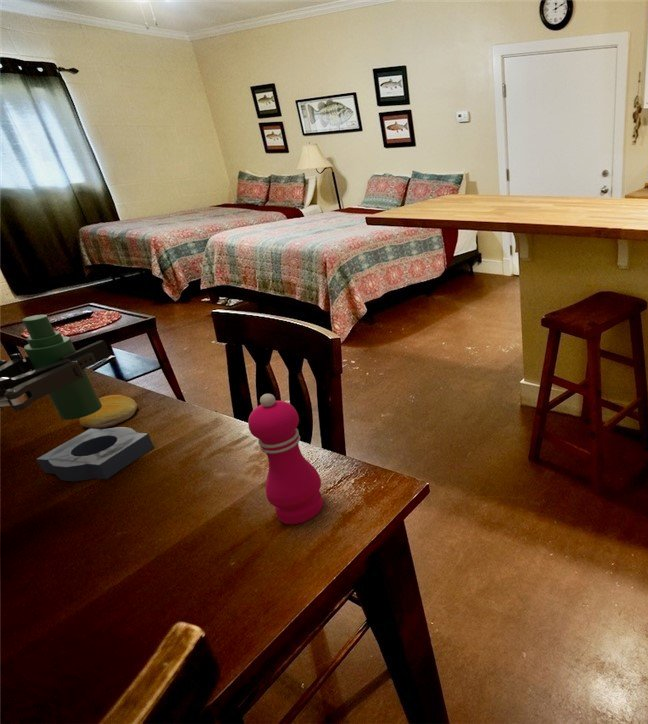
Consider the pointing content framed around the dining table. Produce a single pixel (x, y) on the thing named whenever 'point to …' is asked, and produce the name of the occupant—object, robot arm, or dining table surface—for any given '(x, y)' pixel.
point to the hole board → (95, 454)
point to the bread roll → (110, 412)
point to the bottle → (49, 350)
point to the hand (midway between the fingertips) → (88, 347)
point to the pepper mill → (285, 462)
